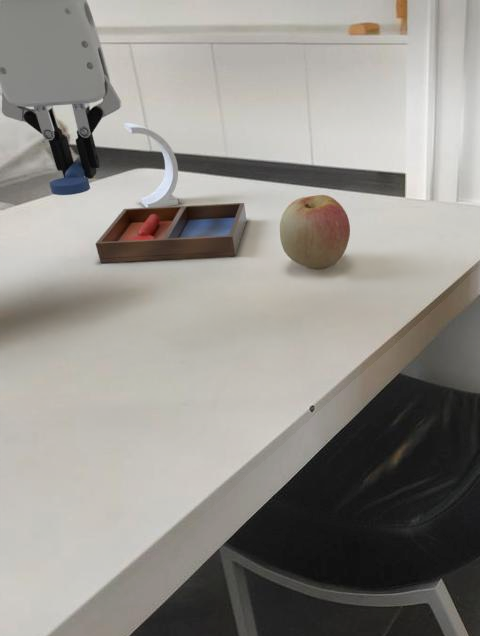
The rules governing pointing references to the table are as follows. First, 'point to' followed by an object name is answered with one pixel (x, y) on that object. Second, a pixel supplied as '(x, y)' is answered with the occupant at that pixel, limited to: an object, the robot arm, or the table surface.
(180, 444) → the table surface
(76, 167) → the blue spoon
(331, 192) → the table surface
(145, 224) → the red spoon
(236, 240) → the tray
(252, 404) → the table surface
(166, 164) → the headphone stand
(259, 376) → the table surface
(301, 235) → the apple
